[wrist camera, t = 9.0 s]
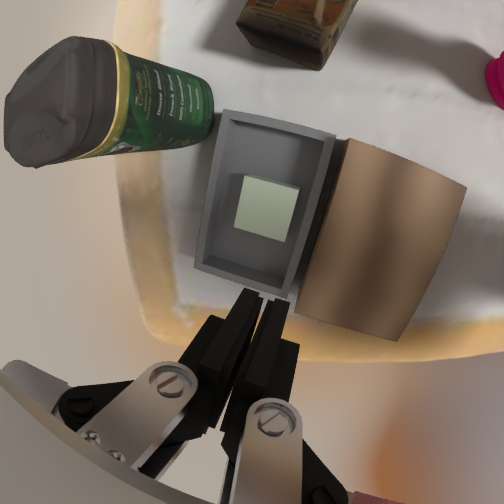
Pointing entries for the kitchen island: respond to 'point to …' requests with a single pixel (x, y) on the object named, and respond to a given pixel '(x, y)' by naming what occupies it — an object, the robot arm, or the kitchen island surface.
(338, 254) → the board
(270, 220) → the tile
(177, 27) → the kitchen island surface
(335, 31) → the beverage carton
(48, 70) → the coffee jar
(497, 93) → the pepper mill
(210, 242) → the tray
